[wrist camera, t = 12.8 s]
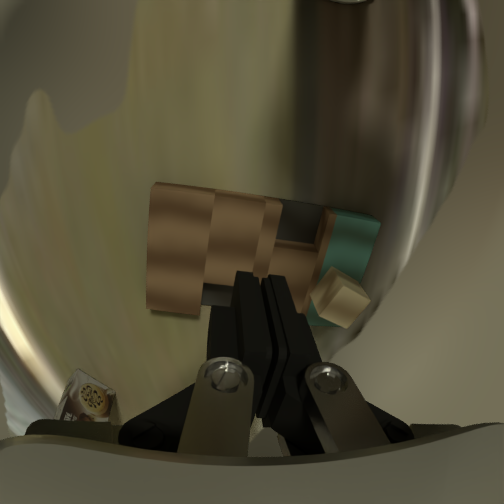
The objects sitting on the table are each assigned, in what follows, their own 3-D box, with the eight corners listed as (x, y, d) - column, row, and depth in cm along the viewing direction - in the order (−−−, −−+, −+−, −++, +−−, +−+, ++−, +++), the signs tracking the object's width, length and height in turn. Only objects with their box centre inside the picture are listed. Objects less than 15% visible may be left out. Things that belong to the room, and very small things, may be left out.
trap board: (156, 181, 37) (150, 187, 35) (371, 215, 42) (380, 223, 39) (150, 296, 44) (146, 308, 42) (337, 315, 49) (343, 326, 46)
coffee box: (67, 380, 52) (43, 443, 37) (78, 367, 50) (52, 434, 36) (103, 403, 55) (87, 466, 41) (117, 391, 54) (100, 459, 39)
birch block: (331, 265, 41) (343, 285, 37) (357, 281, 43) (371, 301, 38) (309, 294, 43) (318, 316, 38) (336, 307, 44) (346, 328, 40)
